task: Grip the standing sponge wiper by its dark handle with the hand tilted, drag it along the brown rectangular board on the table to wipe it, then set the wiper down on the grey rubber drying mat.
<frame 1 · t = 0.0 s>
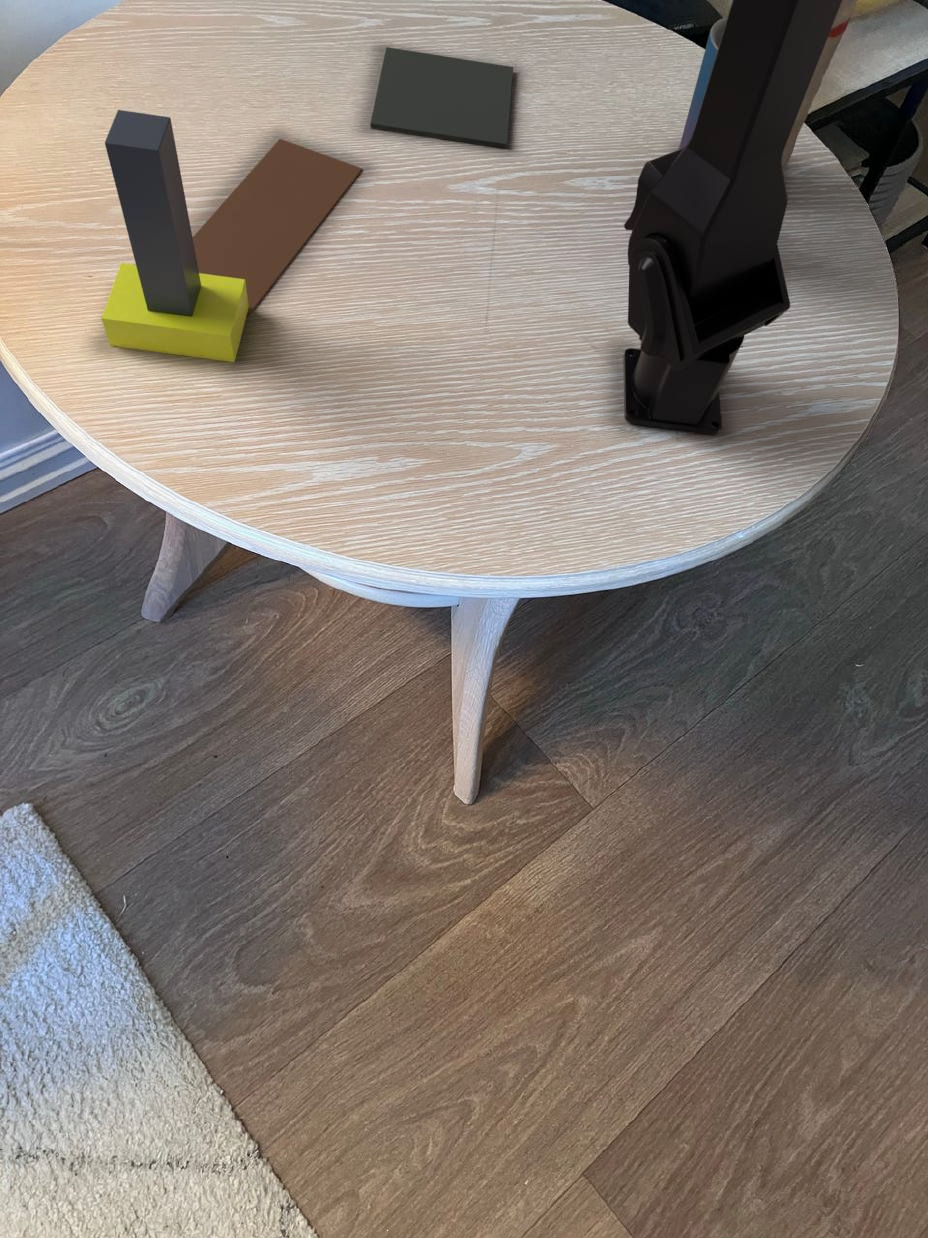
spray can: (727, 173, 77), on the table
cup: (686, 245, 72), on the table
wiper: (181, 326, 61), on the table, touching brown rectangular board
drying mat: (444, 98, 78), on the table
brown rectangular board: (265, 222, 68), on the table
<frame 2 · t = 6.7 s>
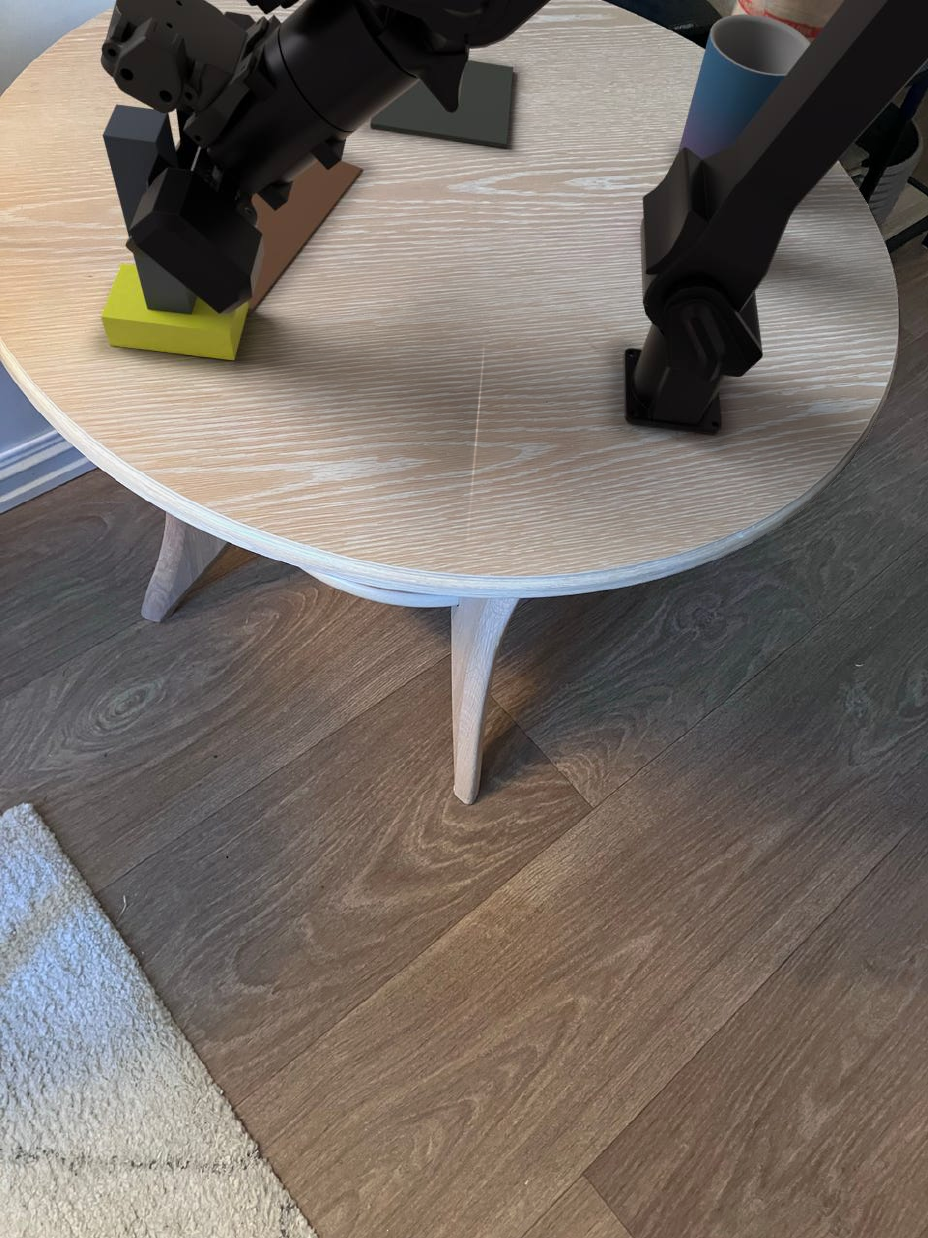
hand: (139, 232, 55), 7 cm above the table, tool tilted 45°, fingers closed on wiper, 3 cm apart
wiper: (180, 325, 61), on the table, touching gripper, brown rectangular board
everything else where it was.
when the fingers open (7 cm above the table, at t = 16.7 s): wiper stays where it is, resting on drying mat.
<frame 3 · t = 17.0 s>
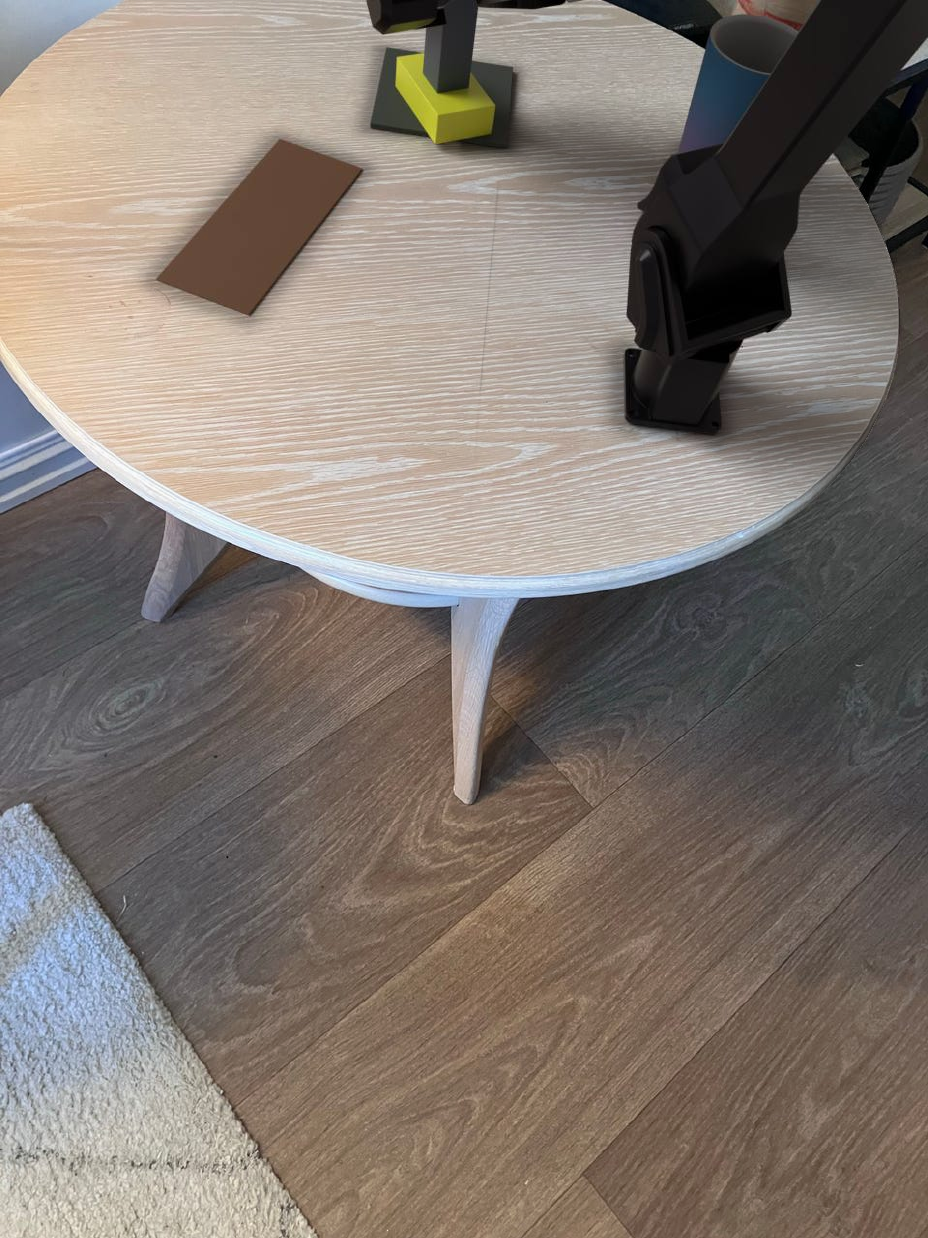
hand: (443, 4, 71), 7 cm above the table, tool tilted 45°, fingers open, 6 cm apart
wiper: (442, 109, 76), resting on drying mat
everything else where it was.
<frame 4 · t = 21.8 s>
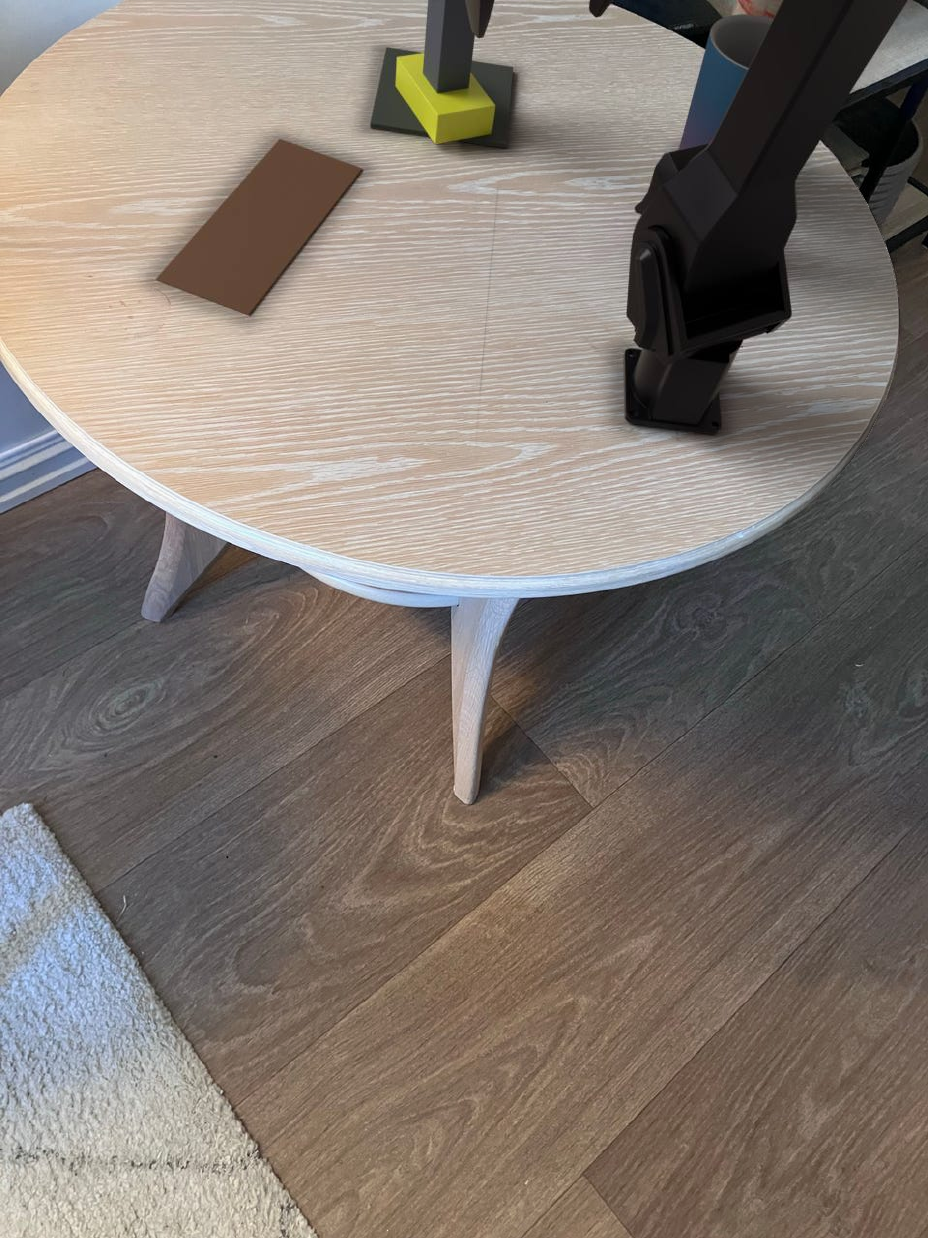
hand: (537, 23, 63), 12 cm above the table, tool pointing down, fingers open, 9 cm apart
nothing on the table moved.
at the end: wiper inside the target area on the drying mat (2.3 cm from its centre), point 0.4 cm above the drying mat's base; wiper tilted 0°; wiper moved 31.6 cm from its start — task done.
